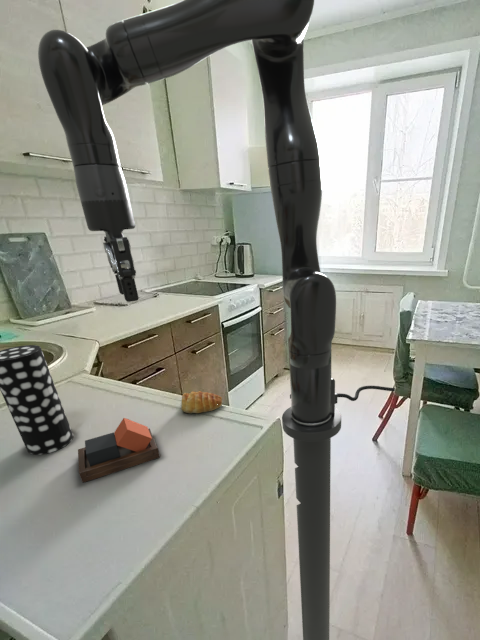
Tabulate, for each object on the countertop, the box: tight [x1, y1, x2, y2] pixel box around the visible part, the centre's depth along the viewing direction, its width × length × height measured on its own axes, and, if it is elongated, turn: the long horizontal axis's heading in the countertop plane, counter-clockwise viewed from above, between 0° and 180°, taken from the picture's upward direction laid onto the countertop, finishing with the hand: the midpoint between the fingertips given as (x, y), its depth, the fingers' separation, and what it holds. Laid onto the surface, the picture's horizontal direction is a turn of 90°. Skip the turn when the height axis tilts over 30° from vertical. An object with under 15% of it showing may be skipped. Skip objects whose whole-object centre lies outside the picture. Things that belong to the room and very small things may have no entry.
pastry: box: [180, 390, 223, 414], centre depth 83 cm, size 9×7×4 cm
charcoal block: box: [84, 431, 121, 467], centre depth 65 cm, size 5×5×4 cm
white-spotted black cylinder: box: [0, 344, 74, 456], centre depth 69 cm, size 8×8×20 cm
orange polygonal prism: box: [114, 417, 152, 452], centre depth 67 cm, size 5×5×4 cm
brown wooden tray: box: [77, 427, 161, 484], centre depth 67 cm, size 13×8×2 cm, turn 120°
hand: (129, 297), depth 66 cm, fingers open, 8 cm apart
